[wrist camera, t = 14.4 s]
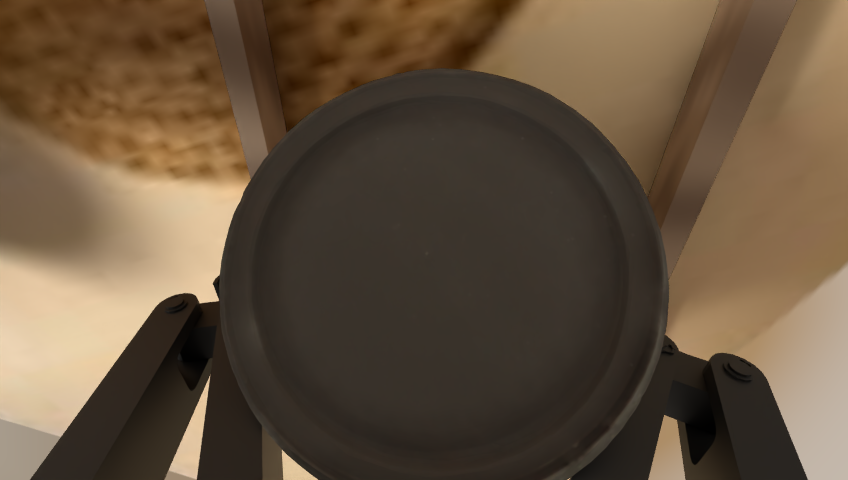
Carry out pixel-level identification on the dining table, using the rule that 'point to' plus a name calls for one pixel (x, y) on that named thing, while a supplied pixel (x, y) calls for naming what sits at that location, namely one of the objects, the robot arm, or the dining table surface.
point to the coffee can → (443, 284)
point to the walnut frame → (686, 150)
